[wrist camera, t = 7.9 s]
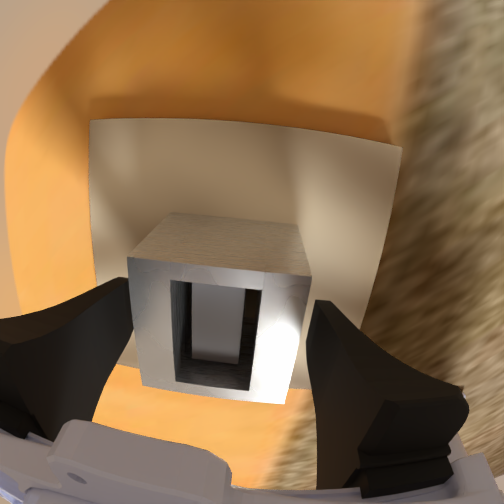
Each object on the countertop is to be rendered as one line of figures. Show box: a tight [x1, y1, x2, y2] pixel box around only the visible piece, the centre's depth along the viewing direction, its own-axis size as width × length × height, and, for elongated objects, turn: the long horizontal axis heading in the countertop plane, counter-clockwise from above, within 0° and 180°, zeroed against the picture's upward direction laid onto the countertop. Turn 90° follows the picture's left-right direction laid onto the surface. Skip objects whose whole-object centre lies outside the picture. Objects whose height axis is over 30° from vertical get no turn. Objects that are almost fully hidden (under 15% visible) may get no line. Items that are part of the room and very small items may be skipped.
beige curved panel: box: [89, 118, 403, 389], centre depth 14 cm, size 14×14×5 cm
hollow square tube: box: [127, 212, 312, 404], centre depth 13 cm, size 6×6×5 cm
